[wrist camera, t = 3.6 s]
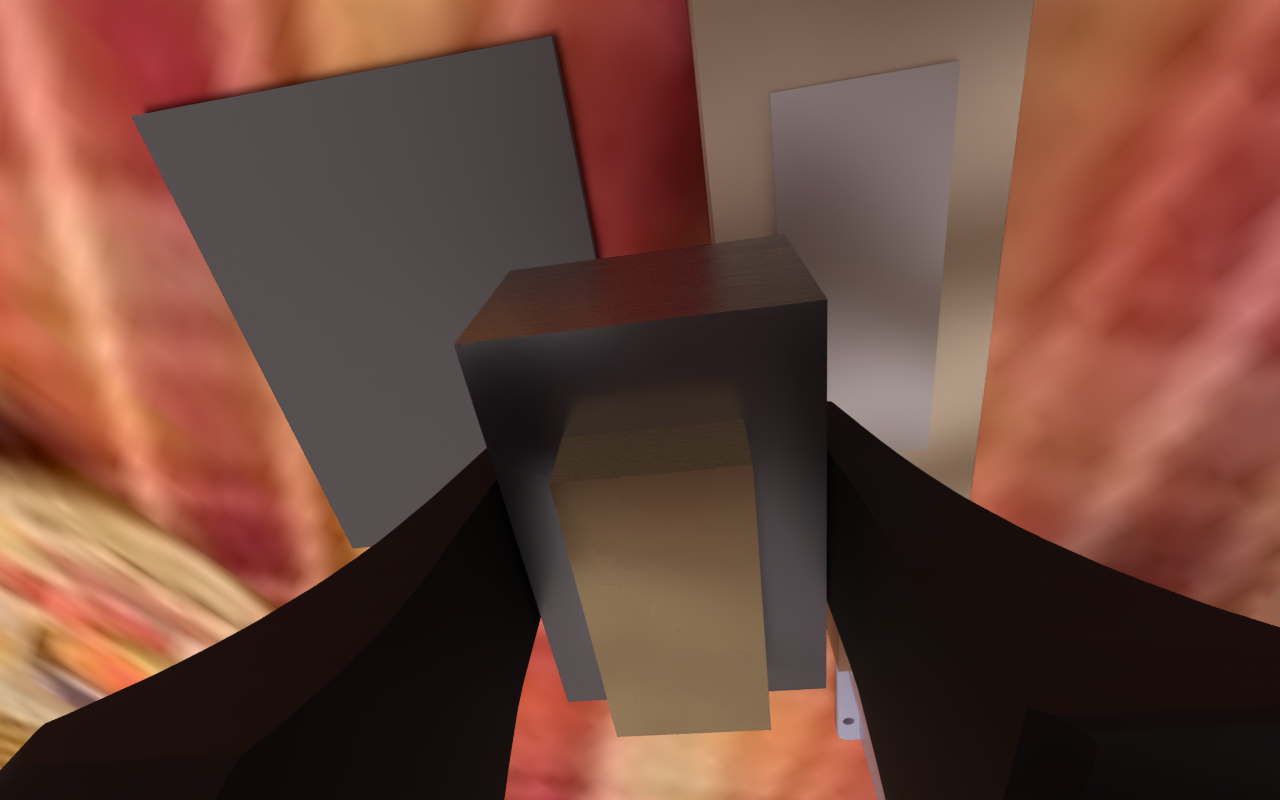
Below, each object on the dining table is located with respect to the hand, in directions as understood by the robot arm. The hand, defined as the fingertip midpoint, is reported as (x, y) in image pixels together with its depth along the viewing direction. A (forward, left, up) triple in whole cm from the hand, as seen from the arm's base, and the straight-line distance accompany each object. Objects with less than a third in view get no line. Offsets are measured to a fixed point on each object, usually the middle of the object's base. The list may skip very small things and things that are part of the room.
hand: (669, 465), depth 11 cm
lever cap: (0, 0, -1) cm, 1 cm away
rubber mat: (-1, +8, -9) cm, 12 cm away
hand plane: (0, -5, -9) cm, 11 cm away
